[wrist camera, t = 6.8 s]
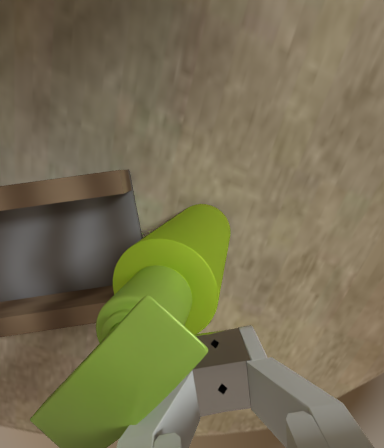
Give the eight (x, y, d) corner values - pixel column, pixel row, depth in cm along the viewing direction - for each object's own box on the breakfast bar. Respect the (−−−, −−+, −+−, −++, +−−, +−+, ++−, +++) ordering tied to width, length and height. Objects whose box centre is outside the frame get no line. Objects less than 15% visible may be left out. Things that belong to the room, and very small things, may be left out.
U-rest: (129, 169, 24) (119, 170, 20) (152, 293, 27) (148, 314, 23) (-41, 193, 24) (-86, 198, 20) (4, 315, 27) (-26, 341, 23)
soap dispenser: (249, 223, 24) (281, 436, 5) (204, 268, 26) (98, 543, 7) (206, 184, 24) (64, 238, 5) (165, 232, 26) (-52, 404, 7)
